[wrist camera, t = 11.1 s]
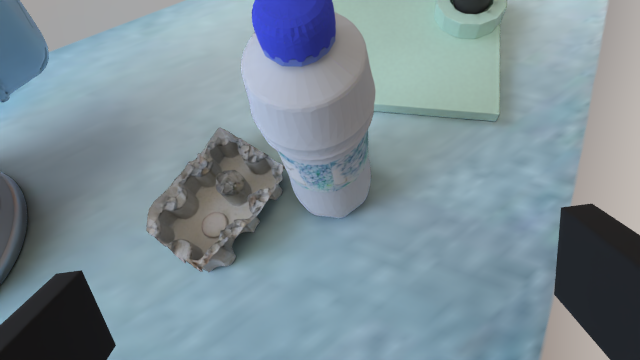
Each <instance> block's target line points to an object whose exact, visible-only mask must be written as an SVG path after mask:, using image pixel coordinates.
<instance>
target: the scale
mask: <svg viewBox="0 0 640 360" xmlns="http://www.w3.org/2000/svg"><path fill="white" fill-rule="evenodd" d="M332 2H333V6H334V12H336V13H338V14H340V15H342V16H344V17H346V18H347V19H348V20H349V21H351V22H352V23H353V24H354V25H355V26H356V27H357V29H358V30H359V31H360V33H361V34H362V36H363V38H364V41H365V43H366V48H367V53H368V58H369V63H370V68H371V72H372V76H373V79H374V83H375V90H376V93H375V102H374V111H379V112H390V113H402V114H414V115H426V116H438V117H449V118H461V119H473V120H485V121H496V120H497V118H498V116H499V114H500V22H501V20H502V17H503V15H504V13H505V10H506V7H507V0H490V3H489V5H488V7H487V8H486V9H485V10H484V11H483V12H481V13H478V14H465V13H462V12H460V11H458V10H457V9H456V8H455V6H454V4H453V0H332Z"/></svg>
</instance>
